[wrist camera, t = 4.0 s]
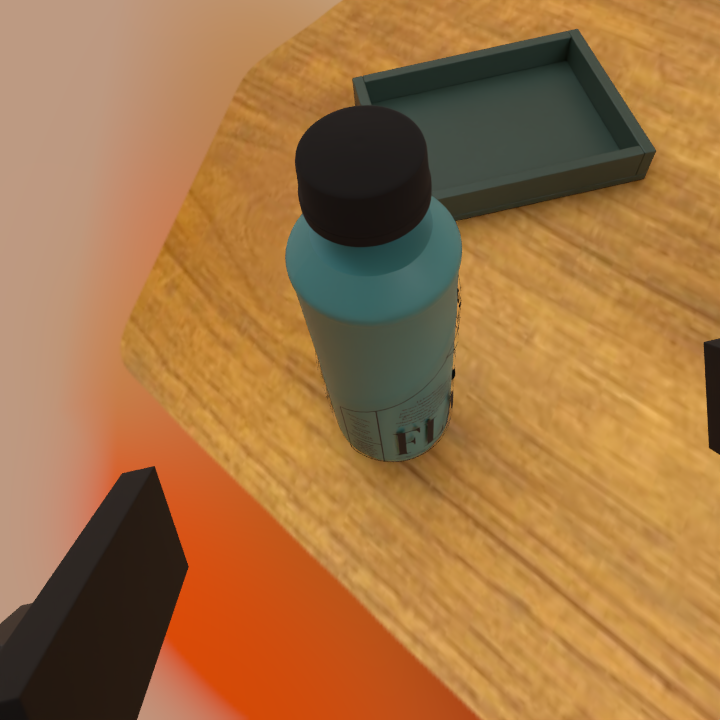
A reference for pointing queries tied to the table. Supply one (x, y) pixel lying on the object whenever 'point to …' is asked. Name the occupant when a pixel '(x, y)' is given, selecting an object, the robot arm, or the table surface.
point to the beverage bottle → (377, 278)
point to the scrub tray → (515, 123)
